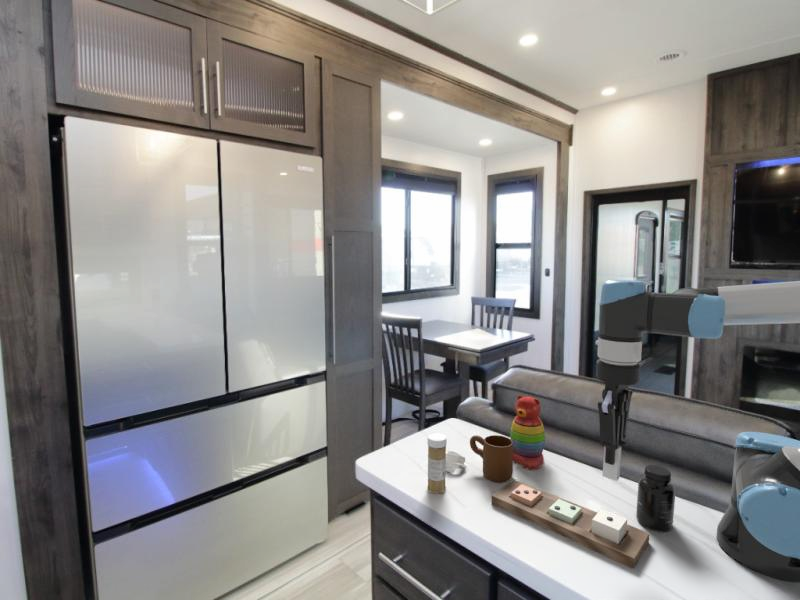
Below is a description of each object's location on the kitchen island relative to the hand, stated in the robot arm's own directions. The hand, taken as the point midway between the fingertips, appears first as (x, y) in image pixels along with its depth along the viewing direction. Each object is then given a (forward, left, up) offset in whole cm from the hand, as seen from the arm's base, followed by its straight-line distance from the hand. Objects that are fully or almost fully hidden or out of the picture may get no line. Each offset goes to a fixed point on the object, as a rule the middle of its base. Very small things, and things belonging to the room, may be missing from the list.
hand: (610, 477), depth 86 cm
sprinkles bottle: (+37, +9, -14) cm, 40 cm away
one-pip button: (0, 0, -12) cm, 12 cm away
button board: (+9, 0, -13) cm, 16 cm away
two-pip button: (+9, 0, -13) cm, 16 cm away
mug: (+32, -7, -14) cm, 35 cm away
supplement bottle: (-5, -13, -14) cm, 19 cm away
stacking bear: (+29, -21, -14) cm, 38 cm away
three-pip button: (+18, 0, -13) cm, 22 cm away
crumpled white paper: (+41, -3, -14) cm, 43 cm away
